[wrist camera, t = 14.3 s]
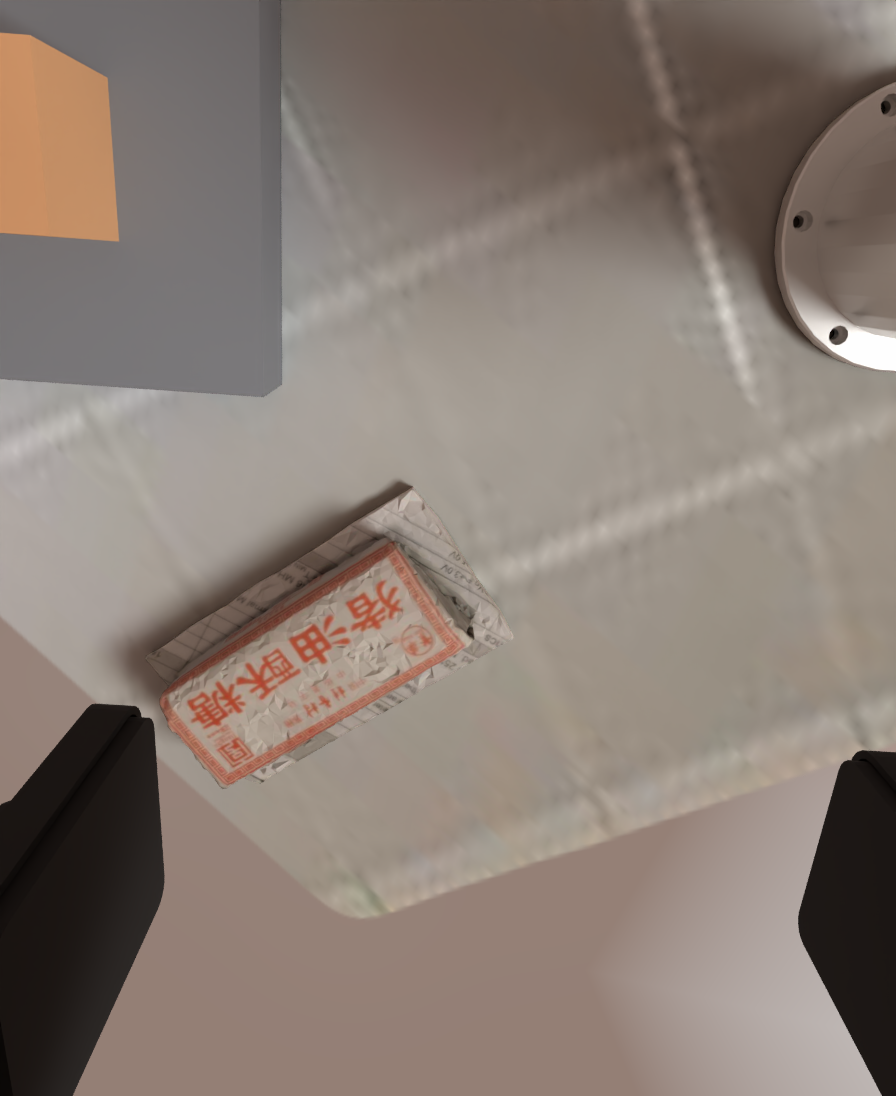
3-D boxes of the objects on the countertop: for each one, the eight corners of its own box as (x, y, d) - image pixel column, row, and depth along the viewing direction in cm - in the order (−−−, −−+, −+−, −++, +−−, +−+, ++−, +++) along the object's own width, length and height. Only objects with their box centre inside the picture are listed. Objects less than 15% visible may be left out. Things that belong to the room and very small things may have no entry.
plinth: (280, -53, 33) (257, -94, 29) (281, 384, 39) (263, 397, 35) (-158, -87, 32) (-239, -134, 28) (-87, 359, 38) (-146, 369, 35)
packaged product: (238, 827, 42) (115, 692, 40) (259, 773, 47) (150, 648, 44) (521, 667, 39) (410, 506, 36) (514, 625, 44) (414, 479, 41)
